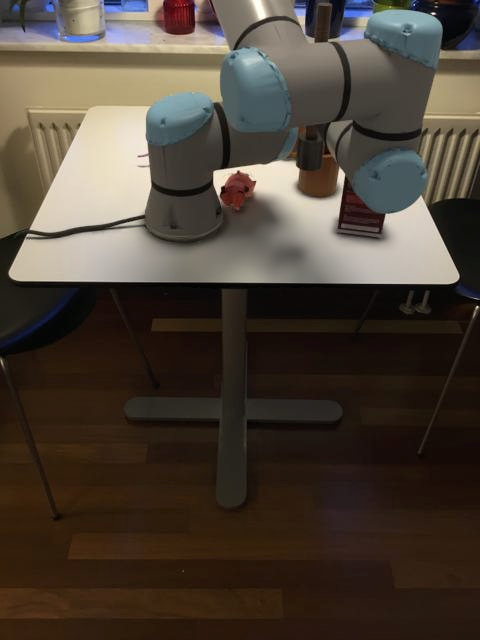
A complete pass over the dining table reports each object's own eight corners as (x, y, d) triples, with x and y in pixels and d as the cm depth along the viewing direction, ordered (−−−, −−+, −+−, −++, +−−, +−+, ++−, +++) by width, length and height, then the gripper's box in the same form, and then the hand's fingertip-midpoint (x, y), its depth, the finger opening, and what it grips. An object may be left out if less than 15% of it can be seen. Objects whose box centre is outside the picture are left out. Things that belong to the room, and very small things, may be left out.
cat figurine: (213, 182, 107) (225, 164, 117) (216, 216, 110) (227, 196, 120) (249, 183, 106) (258, 164, 116) (251, 217, 109) (259, 196, 119)
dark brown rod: (306, 173, 91) (323, 9, 76) (290, 163, 94) (302, 3, 78) (327, 167, 93) (347, 5, 77) (310, 157, 96) (326, -1, 80)
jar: (313, 200, 117) (318, 160, 111) (290, 183, 122) (294, 144, 116) (343, 190, 120) (350, 151, 114) (319, 174, 125) (324, 136, 119)
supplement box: (381, 225, 110) (398, 149, 100) (380, 238, 107) (398, 161, 96) (337, 219, 112) (349, 144, 101) (335, 232, 108) (347, 156, 97)
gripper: (294, 163, 73) (260, 99, 91) (403, 156, 75) (349, 95, 93) (298, 105, 68) (262, 50, 86) (415, 100, 70) (356, 46, 88)
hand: (307, 73), depth 89 cm, fingers closed on dark brown rod, 2 cm apart
